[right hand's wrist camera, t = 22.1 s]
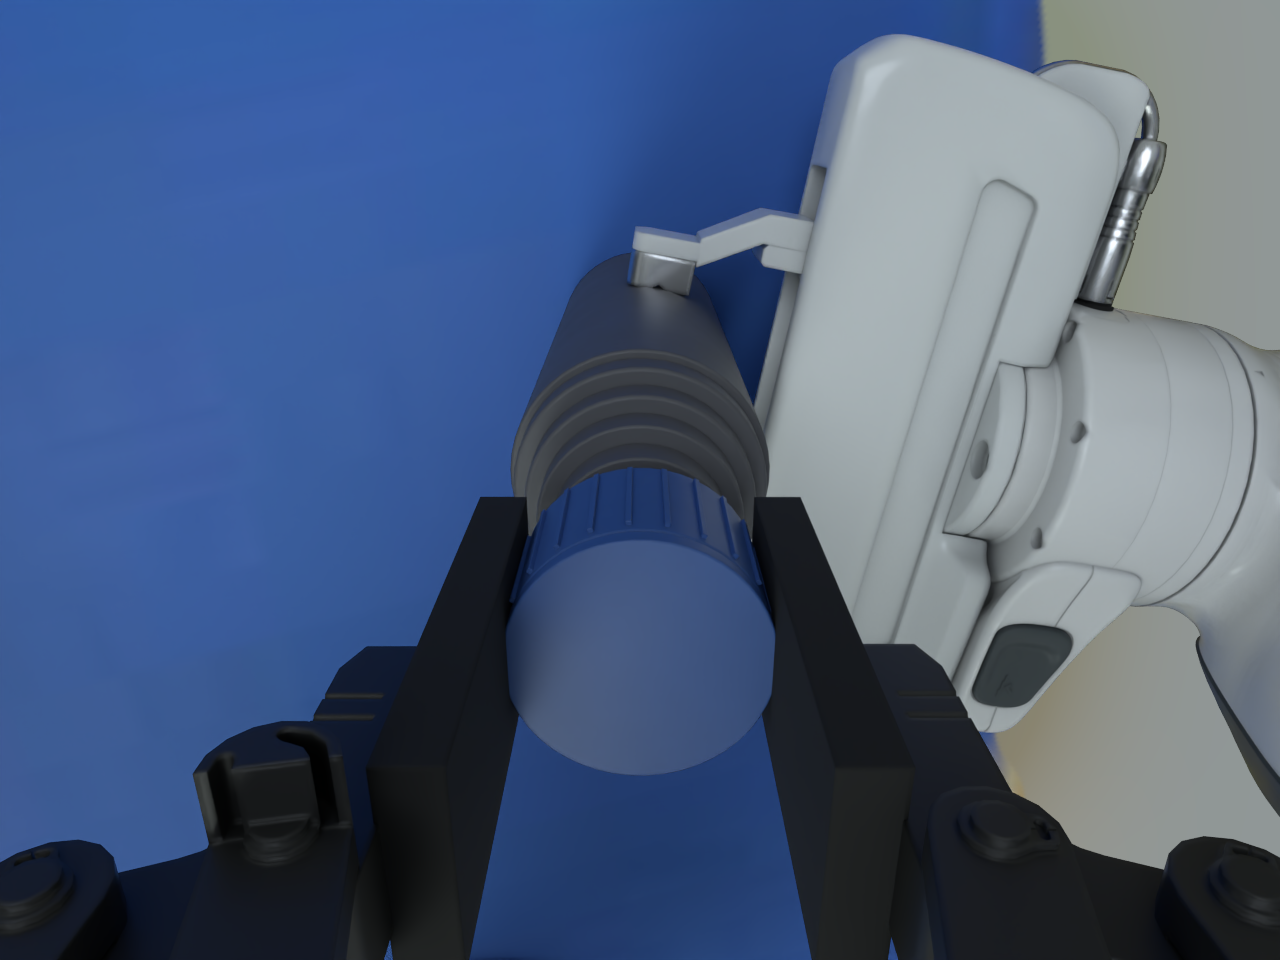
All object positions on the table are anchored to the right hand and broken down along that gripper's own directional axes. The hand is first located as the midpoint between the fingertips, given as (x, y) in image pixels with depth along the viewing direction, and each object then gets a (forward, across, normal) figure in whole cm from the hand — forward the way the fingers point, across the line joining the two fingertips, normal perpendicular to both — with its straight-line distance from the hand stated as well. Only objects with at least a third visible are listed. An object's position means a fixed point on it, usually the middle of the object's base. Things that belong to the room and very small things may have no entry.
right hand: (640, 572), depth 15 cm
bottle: (+19, 0, 0) cm, 19 cm away
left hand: (+12, -1, 0) cm, 12 cm away
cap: (0, 0, 0) cm, 0 cm away
